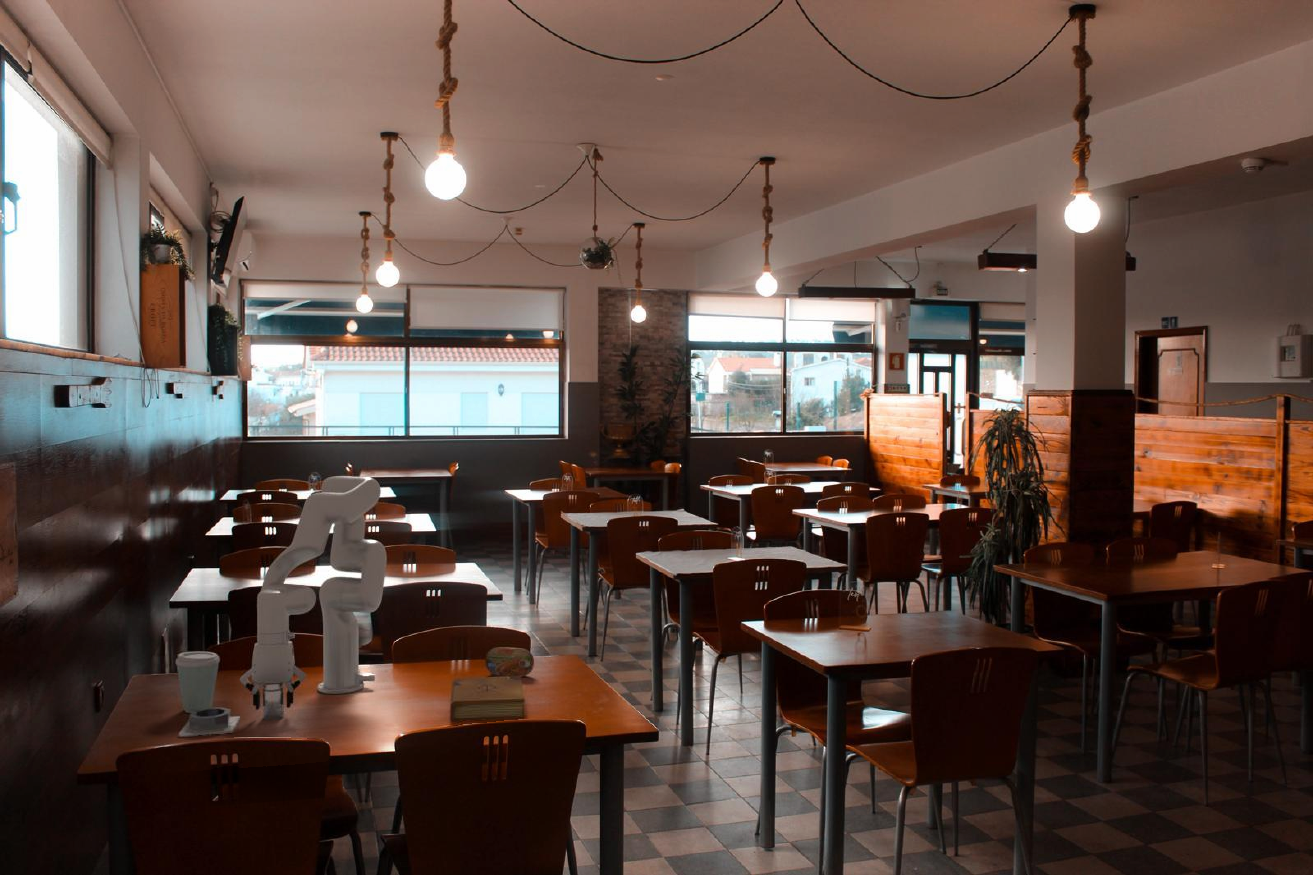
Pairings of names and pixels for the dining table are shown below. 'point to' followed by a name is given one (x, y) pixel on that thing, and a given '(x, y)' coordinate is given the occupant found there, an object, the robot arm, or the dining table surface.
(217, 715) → the ring jig
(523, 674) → the tin
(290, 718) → the dining table surface
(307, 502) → the robot arm
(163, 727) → the dining table surface
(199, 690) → the disposable coffee cup
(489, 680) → the diary
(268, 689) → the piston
